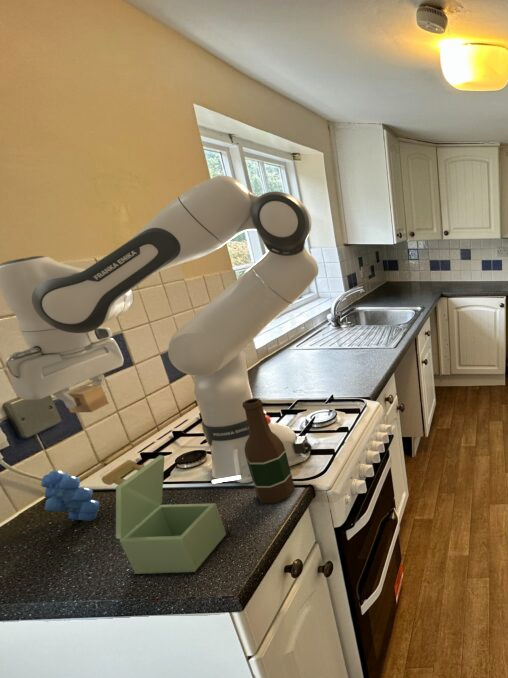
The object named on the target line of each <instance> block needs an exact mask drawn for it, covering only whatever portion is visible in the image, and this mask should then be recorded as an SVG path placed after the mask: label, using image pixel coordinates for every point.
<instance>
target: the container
mask: <svg viewBox="0 0 508 678" xmlns="http://www.w3.org/2000/svg"><path fill="white" fill-rule="evenodd" d="M226 535H227V532H226V529H225V526H224V523H223V519H222V517H221V514H220V512H219V508H218V506H217V503H178V504H176V503H175V504H160V505H159V506H158V507H157V508H156V509H155V510H154V511H152V512H151V513H150V514H149V515H148V516H147V517H146V518H144V519H143V520H142V521H141V522H140V523H139V524H138V525H136V526H135V527H134V528H133V529H132V530H131V531H129V532H128V533H127V534H126V535H125V536H124V537H123V538H121V539H119V543H120V545H121V547H122V549H123V551H124V554H125V556H126V558H127V560H128V562H129V564H130V566H131V568H132V570H133V572H134V574H135V575H140V574H144V575H145V574H170V573H172V574H173V573H174V574H175V573H176V574H177V573H195V572H196V571H197V570H198V569H199V568H200V567H201V565H202V564H203V563H204V562H205V561H206V559H207V558H208V557H210V554H211V553H212V552H213V551H214V550H215V549H216V548H217V546H218V545H219V543H221V542H222V540H223V539H224V538H225V537H226Z"/></svg>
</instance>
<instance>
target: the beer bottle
mask: <svg viewBox="0 0 508 678" xmlns="http://www.w3.org/2000/svg"><path fill="white" fill-rule="evenodd" d="M263 405H264V402H263V401H262V400H261V399H260V398H257V397H256V398H254V397H253V399H249V400H246V401H245V402H243V406H242V407H243V408H244V409H245V412H246V417H247V422H248V427H249V438H248V440H247V442H246V444H245V456H246V460H247V463H248V467H249V470H250V473H251V477H252V480H253V481H252V483H253V487H254V491H255V493H256V495H257V498H258V499H259V501H260V502H261V503H262V504H276V503H279V502H281V501H283V500H286V499H288V498H289V497H290V496H291V494H292V493H293V492H294V491H295V485H294V480H293V476H292V472H291V466H290V467H289V463H288V459H287V455H286V451H285V448H284V445H283V443H282V441H281V440H280V439H279V438H278V436H277V435H276V434H275V433H273V432H272V431H271V430H270V428H269V425H268V422H267V419H266V417H265V414H264V411H265V410H264V411H263V409H264V408H263Z"/></svg>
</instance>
